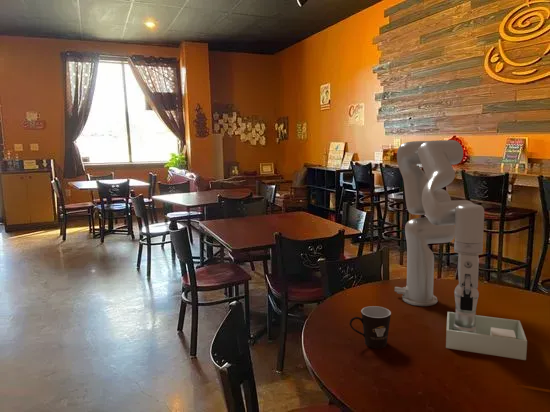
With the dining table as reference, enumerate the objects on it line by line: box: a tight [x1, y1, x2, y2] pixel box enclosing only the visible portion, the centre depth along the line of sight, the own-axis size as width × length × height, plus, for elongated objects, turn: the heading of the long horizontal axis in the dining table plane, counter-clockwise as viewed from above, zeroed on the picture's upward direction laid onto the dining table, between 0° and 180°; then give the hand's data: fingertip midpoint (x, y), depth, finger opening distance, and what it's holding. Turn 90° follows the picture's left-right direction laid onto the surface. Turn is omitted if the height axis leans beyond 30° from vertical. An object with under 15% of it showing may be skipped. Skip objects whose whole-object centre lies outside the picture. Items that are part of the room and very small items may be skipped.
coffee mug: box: [349, 305, 392, 349], centre depth 125 cm, size 12×9×10 cm
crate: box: [445, 311, 528, 361], centre depth 122 cm, size 20×14×6 cm
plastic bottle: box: [453, 282, 480, 333], centre depth 123 cm, size 6×7×20 cm
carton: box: [490, 327, 516, 339], centre depth 120 cm, size 6×5×4 cm
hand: (465, 304), depth 123 cm, fingers open, 8 cm apart
